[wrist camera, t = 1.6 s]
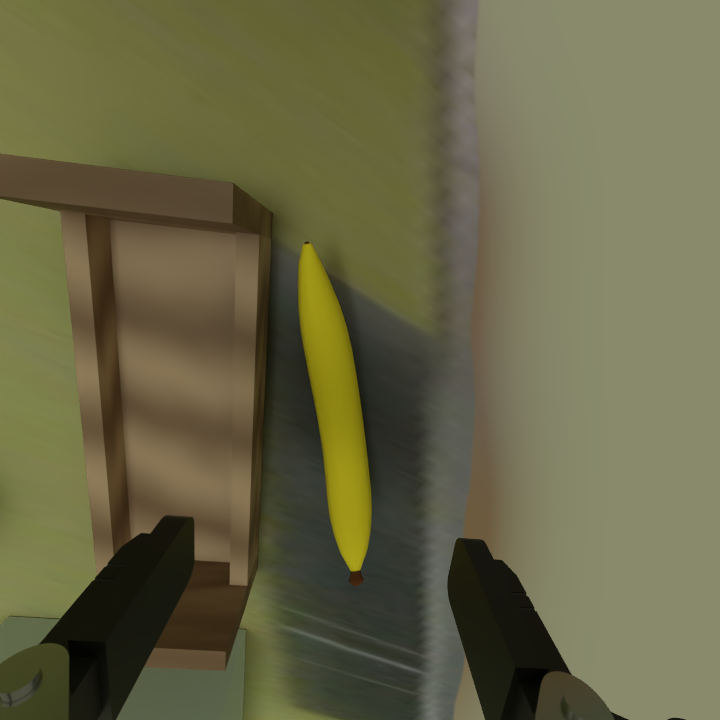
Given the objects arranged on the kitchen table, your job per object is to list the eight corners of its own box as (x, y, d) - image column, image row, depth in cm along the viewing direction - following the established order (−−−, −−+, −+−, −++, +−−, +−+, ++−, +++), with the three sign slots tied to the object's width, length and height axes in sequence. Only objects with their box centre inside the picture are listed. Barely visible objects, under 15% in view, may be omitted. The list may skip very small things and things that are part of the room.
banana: (340, 245, 21) (336, 234, 15) (375, 509, 26) (382, 584, 19) (293, 251, 21) (269, 242, 15) (336, 514, 26) (332, 591, 19)
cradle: (97, 191, 20) (-37, 149, 13) (272, 213, 20) (233, 183, 13) (125, 560, 26) (45, 662, 19) (257, 569, 27) (225, 671, 20)
